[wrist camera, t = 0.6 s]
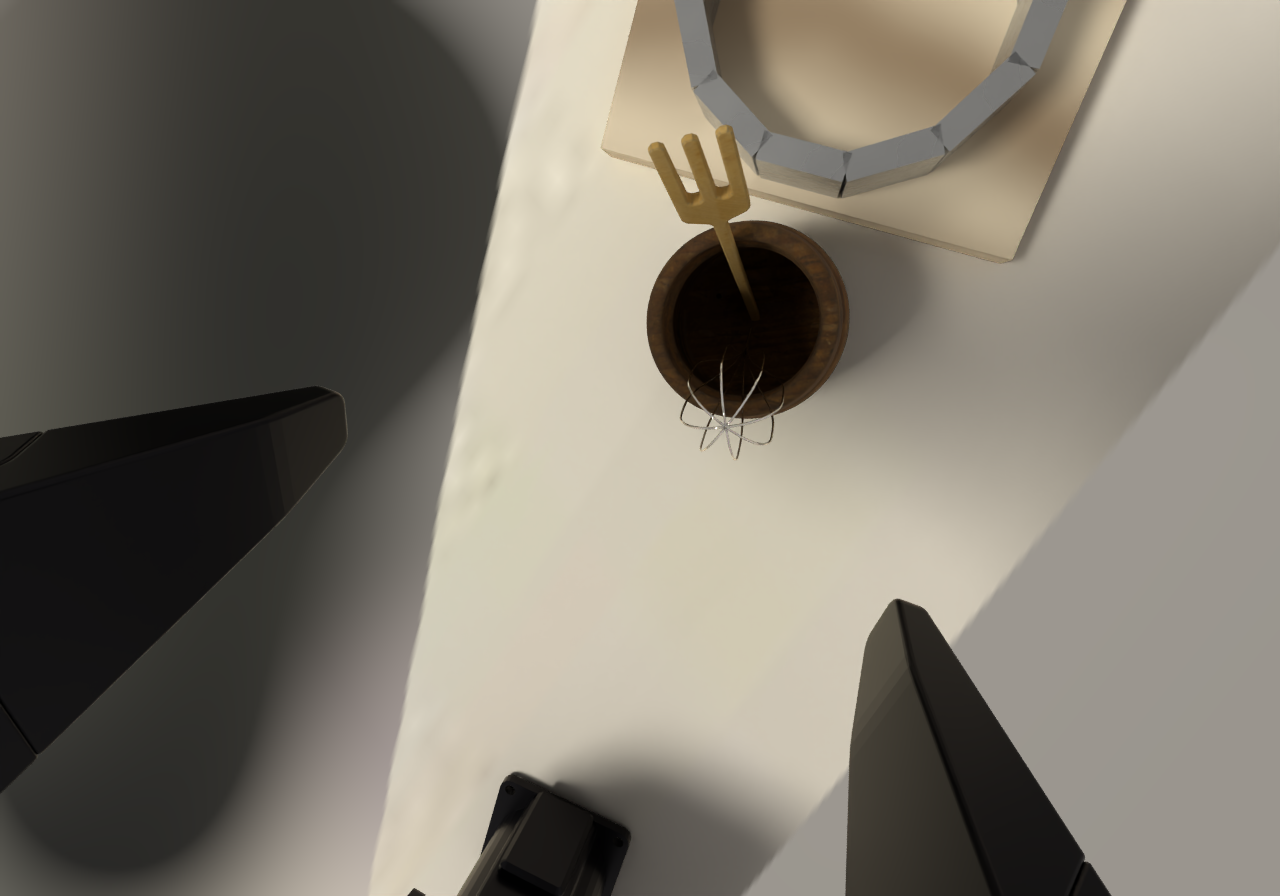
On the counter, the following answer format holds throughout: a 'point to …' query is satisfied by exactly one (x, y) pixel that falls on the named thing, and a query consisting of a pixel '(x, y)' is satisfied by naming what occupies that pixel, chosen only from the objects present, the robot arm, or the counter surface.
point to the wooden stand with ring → (869, 104)
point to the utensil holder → (741, 301)
